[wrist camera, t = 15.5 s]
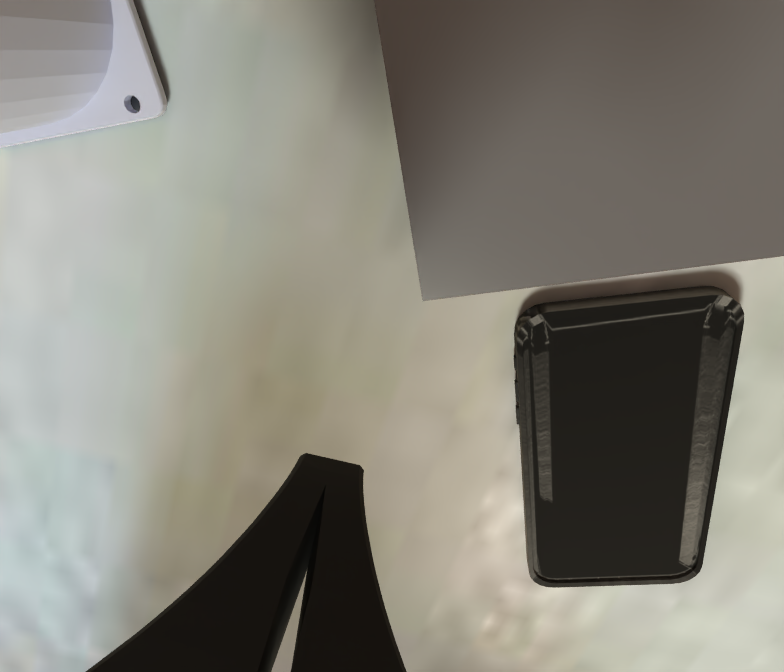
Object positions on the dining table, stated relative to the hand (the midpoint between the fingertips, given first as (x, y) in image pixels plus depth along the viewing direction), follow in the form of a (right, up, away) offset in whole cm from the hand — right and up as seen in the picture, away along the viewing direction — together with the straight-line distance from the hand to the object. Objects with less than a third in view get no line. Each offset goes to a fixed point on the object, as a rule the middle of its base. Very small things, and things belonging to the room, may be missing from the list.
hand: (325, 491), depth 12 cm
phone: (+11, -1, +11) cm, 16 cm away
